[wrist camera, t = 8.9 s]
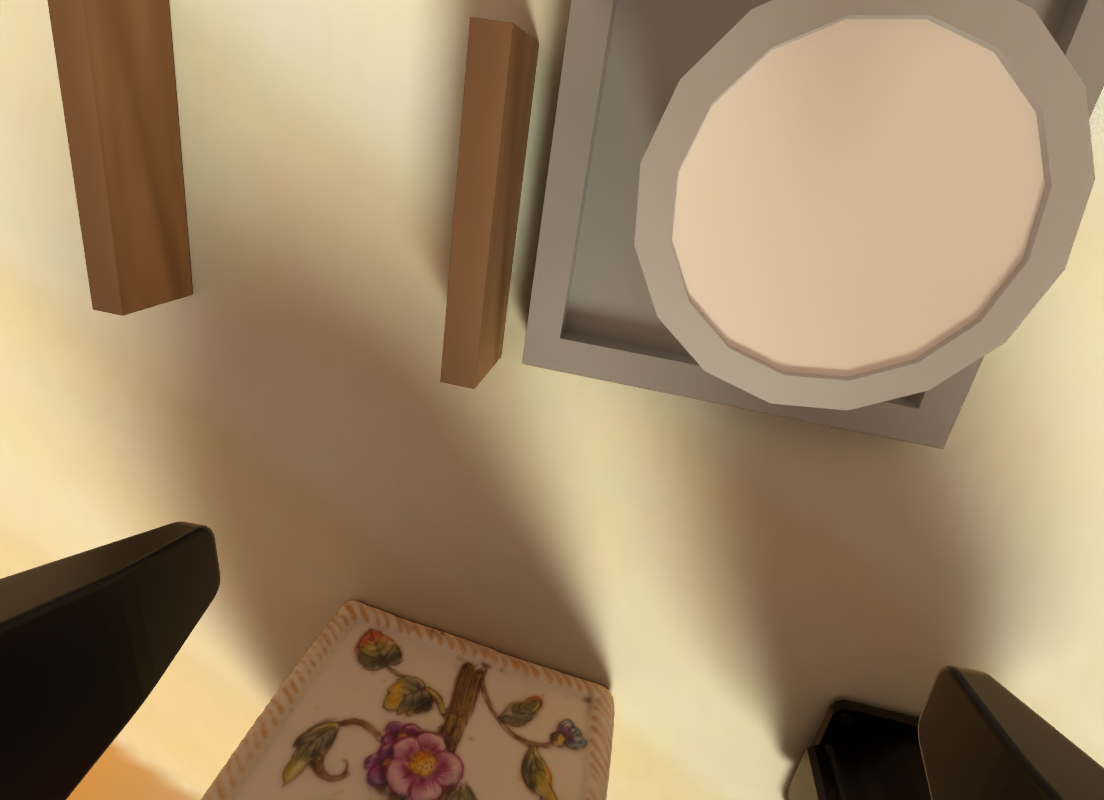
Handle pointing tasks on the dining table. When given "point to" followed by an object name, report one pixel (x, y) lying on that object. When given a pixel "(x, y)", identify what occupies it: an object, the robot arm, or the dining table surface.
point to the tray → (612, 195)
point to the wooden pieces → (157, 176)
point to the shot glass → (863, 194)
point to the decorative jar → (421, 723)
